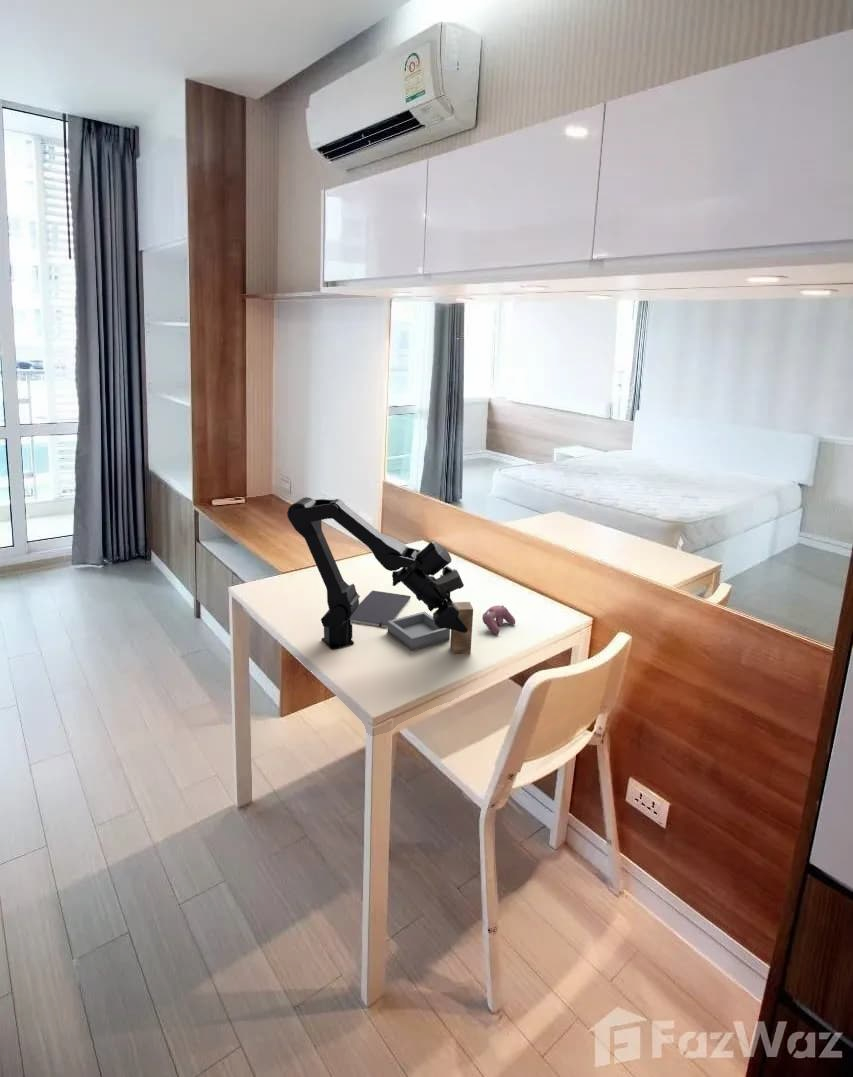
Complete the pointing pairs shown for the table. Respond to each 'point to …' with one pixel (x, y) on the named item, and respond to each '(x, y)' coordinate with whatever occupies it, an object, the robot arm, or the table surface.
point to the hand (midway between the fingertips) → (463, 623)
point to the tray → (417, 631)
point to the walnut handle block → (459, 639)
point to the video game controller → (497, 618)
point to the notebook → (379, 608)
